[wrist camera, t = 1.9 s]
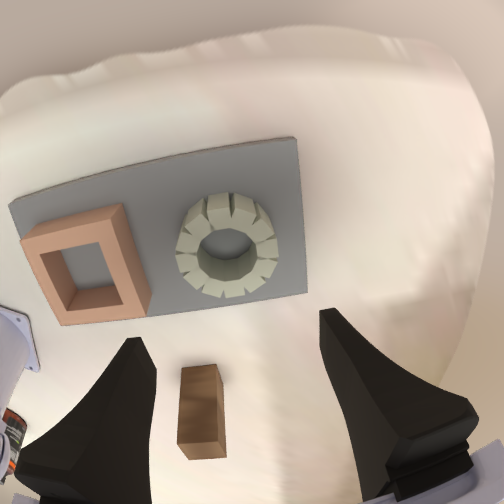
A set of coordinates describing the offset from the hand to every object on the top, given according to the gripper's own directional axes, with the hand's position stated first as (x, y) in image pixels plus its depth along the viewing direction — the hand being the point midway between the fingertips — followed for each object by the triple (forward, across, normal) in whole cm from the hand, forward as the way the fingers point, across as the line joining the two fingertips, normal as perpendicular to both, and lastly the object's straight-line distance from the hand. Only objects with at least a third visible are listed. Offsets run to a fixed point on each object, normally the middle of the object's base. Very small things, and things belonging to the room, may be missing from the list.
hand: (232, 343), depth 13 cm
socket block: (+10, +5, 0) cm, 12 cm away
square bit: (+10, +5, +14) cm, 18 cm away
